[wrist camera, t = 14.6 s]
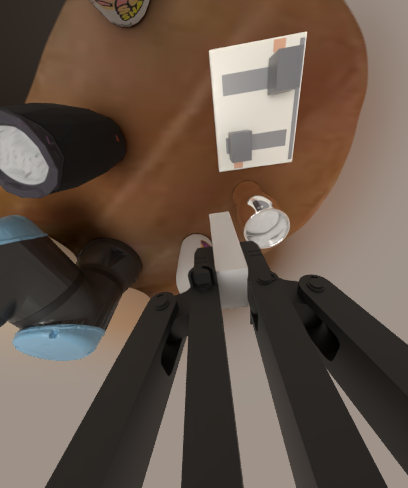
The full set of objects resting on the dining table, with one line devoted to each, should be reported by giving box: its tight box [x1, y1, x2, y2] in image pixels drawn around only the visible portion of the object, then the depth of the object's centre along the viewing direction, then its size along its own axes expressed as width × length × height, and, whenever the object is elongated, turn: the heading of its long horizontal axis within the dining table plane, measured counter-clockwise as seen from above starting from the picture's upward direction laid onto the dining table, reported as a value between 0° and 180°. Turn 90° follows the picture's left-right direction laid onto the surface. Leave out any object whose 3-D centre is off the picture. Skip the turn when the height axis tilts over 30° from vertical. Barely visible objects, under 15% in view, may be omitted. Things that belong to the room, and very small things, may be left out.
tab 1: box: [228, 130, 252, 163], centre depth 30 cm, size 3×4×4 cm
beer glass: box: [232, 181, 290, 248], centre depth 33 cm, size 7×7×15 cm
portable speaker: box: [0, 103, 126, 198], centre depth 25 cm, size 9×9×20 cm
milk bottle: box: [176, 234, 212, 294], centre depth 38 cm, size 8×8×20 cm
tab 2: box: [268, 44, 305, 95], centre depth 25 cm, size 3×4×4 cm
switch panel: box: [209, 32, 307, 172], centre depth 30 cm, size 13×16×3 cm
